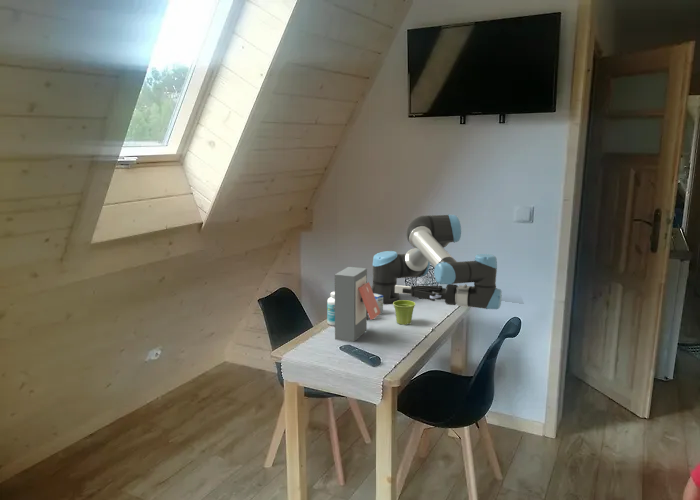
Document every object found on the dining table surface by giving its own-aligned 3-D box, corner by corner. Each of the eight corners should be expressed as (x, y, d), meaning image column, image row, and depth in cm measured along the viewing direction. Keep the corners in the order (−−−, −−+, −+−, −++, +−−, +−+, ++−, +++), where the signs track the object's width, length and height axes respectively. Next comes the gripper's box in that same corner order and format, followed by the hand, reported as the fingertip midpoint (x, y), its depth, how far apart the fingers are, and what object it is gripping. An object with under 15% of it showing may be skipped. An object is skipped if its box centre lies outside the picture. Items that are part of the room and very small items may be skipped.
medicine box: (363, 312, 247) (363, 293, 245) (369, 309, 250) (369, 291, 248) (377, 315, 242) (377, 296, 240) (383, 313, 245) (383, 294, 244)
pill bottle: (324, 325, 229) (324, 294, 227) (331, 319, 236) (331, 289, 233) (341, 327, 227) (341, 296, 224) (347, 321, 234) (347, 291, 231)
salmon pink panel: (377, 313, 216) (365, 283, 216) (381, 312, 216) (369, 282, 215) (370, 319, 209) (358, 288, 209) (374, 318, 208) (362, 287, 208)
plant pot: (413, 327, 227) (414, 307, 225) (391, 325, 229) (391, 305, 227) (415, 320, 236) (416, 300, 234) (394, 318, 238) (394, 299, 236)
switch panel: (348, 327, 226) (348, 266, 221) (371, 331, 222) (372, 269, 217) (335, 339, 213) (334, 274, 208) (359, 342, 209) (359, 277, 204)
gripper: (461, 281, 204) (400, 275, 213) (454, 289, 192) (390, 283, 201) (460, 300, 205) (400, 294, 214) (453, 310, 193) (389, 302, 202)
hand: (395, 288), depth 207 cm, fingers closed
